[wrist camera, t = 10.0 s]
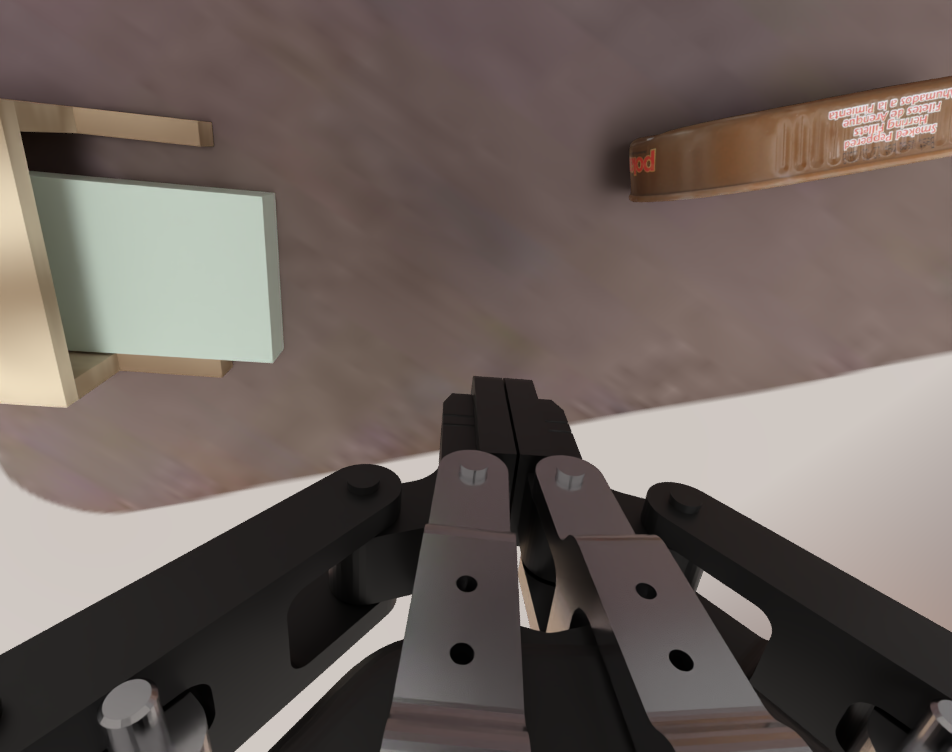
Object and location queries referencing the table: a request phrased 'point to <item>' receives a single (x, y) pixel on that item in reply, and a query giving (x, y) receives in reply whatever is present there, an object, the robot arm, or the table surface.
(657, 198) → the tin
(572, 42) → the table surface
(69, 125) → the beige forked block
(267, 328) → the panel
